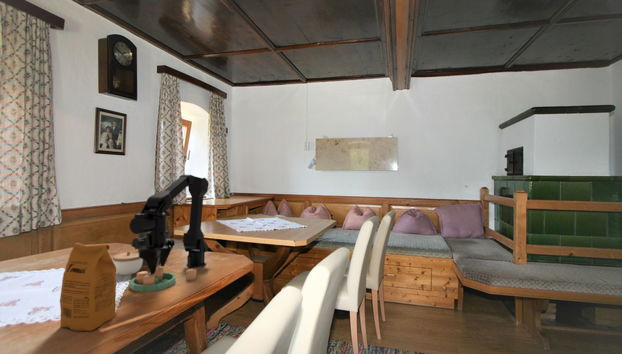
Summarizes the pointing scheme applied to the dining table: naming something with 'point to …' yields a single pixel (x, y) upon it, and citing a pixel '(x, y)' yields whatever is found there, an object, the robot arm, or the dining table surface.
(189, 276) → the bead
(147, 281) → the bead
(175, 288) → the dining table surface
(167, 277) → the ring tray
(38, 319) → the dining table surface
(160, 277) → the bead
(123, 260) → the lidded jar
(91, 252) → the coffee package
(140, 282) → the bead
